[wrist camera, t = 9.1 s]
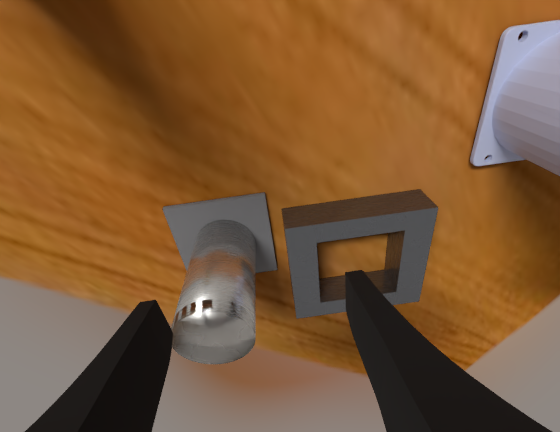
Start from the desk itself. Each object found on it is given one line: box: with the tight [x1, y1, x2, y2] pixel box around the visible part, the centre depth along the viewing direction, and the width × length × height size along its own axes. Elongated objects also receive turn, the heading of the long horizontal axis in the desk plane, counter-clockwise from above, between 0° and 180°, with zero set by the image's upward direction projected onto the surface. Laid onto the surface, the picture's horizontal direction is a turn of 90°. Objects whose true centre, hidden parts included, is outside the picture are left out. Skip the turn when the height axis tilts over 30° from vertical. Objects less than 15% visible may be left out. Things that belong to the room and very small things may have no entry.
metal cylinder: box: [171, 220, 256, 364], centre depth 19 cm, size 4×4×8 cm
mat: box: [163, 192, 277, 273], centre depth 22 cm, size 7×7×1 cm
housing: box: [282, 189, 438, 319], centre depth 23 cm, size 10×9×2 cm
